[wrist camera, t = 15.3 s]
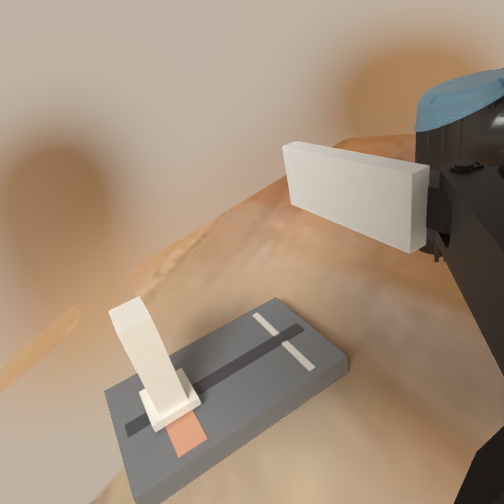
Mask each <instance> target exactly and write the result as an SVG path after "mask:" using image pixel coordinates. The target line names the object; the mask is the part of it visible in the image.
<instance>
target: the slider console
mask: <svg viewBox="0 0 504 504" xmlns="http://www.w3.org/2000/svg"><path fill="white" fill-rule="evenodd" d="M169 358H170V360H171V363H172V365H173V367H174V369H175V371H176V370H178V369H180V368H182V369H183V371H184V373H185V375H186V376H187V378H188V380H189V381H190V383H191V385H192V387H193V388H194V390H195V392H196V394H197V395H198V397H199V399H200V402H201V405H199V406H197V407H196V408H194V409H193V410H191V411H189V412H188V413H186V414H185V415H183V416H181V417H180V418H178V419H177V420H175V421H173V422H172V423H170V424H168V425H167V426H165V427H164V428H162V429H160V430H159V431H157V432H156V433H155V431H154V429H153V427H152V425H151V423H150V420H149V417H148V415H147V412H146V410H145V407H144V404H143V402H142V399H141V397H140V394H139V392H140V391H141V390H143V389H145V387H144V385H143V383H142V381H141V379H140V377H139V375H138V373H137V374H135V375H133V376H131V377H129V378H128V379H126V380H124V381H122V382H120V383H119V384H117V385H115V386H113V387H112V388H109V389H108V390H106V391H104V392H105V396H106V399H107V403H108V407H109V410H110V414H111V417H112V421H113V425H114V429H115V432H116V436H117V440H118V443H119V447H120V451H121V454H122V458H123V462H124V465H125V469H126V473H127V476H128V480H129V484H130V487H131V491H132V495H133V498H134V501H135V502H136V503H137V504H160V503H161V502H163V501H164V500H165V499H167V498H168V497H170V496H171V495H173V494H174V493H175V492H177V491H178V490H180V489H181V488H183V487H184V486H186V485H187V484H188V483H190V482H191V481H193V480H194V479H196V478H197V477H198V476H200V475H201V474H203V473H204V472H206V471H207V470H208V469H210V468H211V467H213V466H214V465H216V464H217V463H218V462H220V461H221V460H223V459H224V458H226V457H227V456H229V455H230V454H231V453H233V452H234V451H236V450H237V449H239V448H240V447H241V446H243V445H244V444H246V443H247V442H249V441H250V440H251V439H253V438H254V437H256V436H257V435H259V434H260V433H261V432H263V431H264V430H266V429H267V428H269V427H270V426H272V425H273V424H274V423H276V422H277V421H279V420H280V419H282V418H283V417H284V416H286V415H287V414H289V413H290V412H292V411H293V410H294V409H296V408H297V407H299V406H300V405H302V404H303V403H305V402H306V401H307V400H309V399H310V398H312V397H313V396H315V395H316V394H317V393H319V392H320V391H322V390H323V389H325V388H326V387H327V386H329V385H330V384H332V383H333V382H335V381H336V380H337V379H339V378H340V377H342V376H343V375H345V374H346V373H348V372H349V368H348V357H347V355H346V354H345V353H343V352H342V351H341V350H340V349H338V348H337V347H336V346H335V345H334V344H332V343H331V342H330V341H329V340H327V339H326V338H325V337H324V336H322V335H321V334H320V333H319V332H318V331H316V330H315V329H314V328H313V327H311V326H310V325H309V324H308V323H307V322H305V321H304V320H303V319H302V318H300V317H299V316H298V315H297V314H295V313H294V312H293V311H292V310H291V309H289V308H288V307H287V306H286V305H284V304H283V303H282V302H281V301H280V300H278V299H277V298H276V297H275V298H273V299H272V300H270V301H268V302H266V303H264V304H262V305H261V306H259V307H257V308H255V309H253V310H252V311H250V312H248V313H246V314H244V315H242V316H241V317H239V318H237V319H235V320H233V321H231V322H230V323H228V324H226V325H224V326H222V327H221V328H219V329H217V330H215V331H213V332H211V333H210V334H208V335H206V336H204V337H202V338H201V339H199V340H197V341H195V342H193V343H191V344H190V345H188V346H186V347H184V348H182V349H180V350H179V351H177V352H175V353H173V354H171V355H170V356H169Z"/></svg>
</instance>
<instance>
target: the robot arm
mask: <svg viewBox="0 0 504 504" xmlns="http://www.w3.org/2000/svg"><path fill="white" fill-rule="evenodd" d="M414 130H415V131H416V150H415V163H413V162H407V161H402V160H396V159H391V158H386V157H380V156H375V155H369V154H364V153H359V152H353V151H348V150H342V149H337V148H332V147H326V146H320V145H315V144H310V143H304V142H298V141H295V142H292V143H290V144H287V145H284V146H282V148H283V155H284V161H285V167H286V174H287V180H288V186H289V193H290V199H291V204H292V205H295V206H297V207H299V208H302V209H304V210H307V211H309V212H311V213H314V214H316V215H318V216H321V217H323V218H325V219H328V220H330V221H333V222H335V223H337V224H340V225H342V226H344V227H347V228H349V229H352V230H354V231H356V232H359V233H361V234H363V235H366V236H368V237H370V238H373V239H375V240H378V241H380V242H382V243H385V244H387V245H389V246H392V247H394V248H396V249H399V250H401V251H404V252H406V253H408V254H411V253H413V252H415V251H417V250H418V249H419V250H422V251H425V252H428V253H432V254H435V262H438V261H439V257H440V256H441V255H443V257H444V261H446V263H447V265H448V267H449V269H450V271H451V273H452V275H453V277H454V279H455V281H456V283H457V285H458V287H459V289H460V291H461V293H462V295H463V297H464V299H465V301H466V303H467V305H468V307H469V309H470V310H471V312H472V314H473V316H474V318H475V320H476V322H477V324H478V326H479V328H480V330H481V332H482V334H483V336H484V338H485V340H486V342H487V344H488V346H489V348H490V350H491V352H492V354H493V356H494V358H495V360H496V362H497V364H498V366H499V368H500V370H501V372H502V374H503V376H504V68H501V69H496V70H487V71H482V72H478V73H473V74H469V75H466V76H462V77H459V78H456V79H452V80H449V81H446V82H444V83H441V84H439V85H437V86H435V87H433V88H431V89H429V90H428V91H426V92H425V93H424V94H423V95H422V96H421V98H420V99H419V102H418V106H417V117H416V124H415V126H414ZM454 504H504V426H503V427H502V428H501V429H500V430H499V431H498V432H497V433H496V434H495V435H494V436H493V437H492V438H491V439H490V440H489V441H488V442H487V443H486V444H485V445H483V446H482V447H481V448H480V449H479V450H478V451H477V452H476V454H475V457H474V459H473V461H472V463H471V466H470V468H469V470H468V472H467V475H466V477H465V479H464V481H463V484H462V486H461V488H460V490H459V493H458V495H457V497H456V499H455V502H454Z"/></svg>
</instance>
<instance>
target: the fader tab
mask: <svg viewBox="0 0 504 504" xmlns="http://www.w3.org/2000/svg"><path fill="white" fill-rule="evenodd" d="M108 312H109V315H110V318H111V320H112V323H113V325H114V328H115V330H116V333H117V335H118V337H119V339H120V341H121V343H122V345H123V347H124V348H125V351H126V352H127V354H128V356H129V358H130V360H131V362H132V364H133V366H134V368H135V369H136V371H137V373H138V375H139V377H140V379H141V381H142V383H143V385H144V387H145V389H143V390H141V391H140V392H139V394H140V397H141V399H142V402H143V404H144V407H145V410H146V412H147V415H148V417H149V420H150V423H151V425H152V427H153V429H154V431H155V433H156V432H157V431H159V430H160V429H162V428H164V427H165V426H167V425H168V424H170V423H172V422H173V421H175V420H177V419H178V418H180V417H181V416H183V415H185V414H186V413H188V412H189V411H191V410H193V409H194V408H196V407H197V406H199V405H201V402H200V399H199V397H198V395H197V394H196V392H195V390H194V388H193V387H192V385H191V383H190V381H189V380H188V378H187V376H186V375H185V373H184V371H183V369H182V368H180V369H178V370H176V371H175V369H174V367H173V365H172V363H171V360H170V358H169V356H168V354H167V352H166V349H165V347H164V345H163V343H162V340H161V338H160V336H159V334H158V331H157V329H156V327H155V325H154V322H153V320H152V318H151V316H150V314H149V312H148V311H147V309H146V307H145V305H144V304H143V302H142V300H141V298H140V297H137V298H135V299H133V300H130V301H128V302H126V303H124V304H122V305H120V306H118V307H116V308H113V309H111V310H109V311H108Z"/></svg>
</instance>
